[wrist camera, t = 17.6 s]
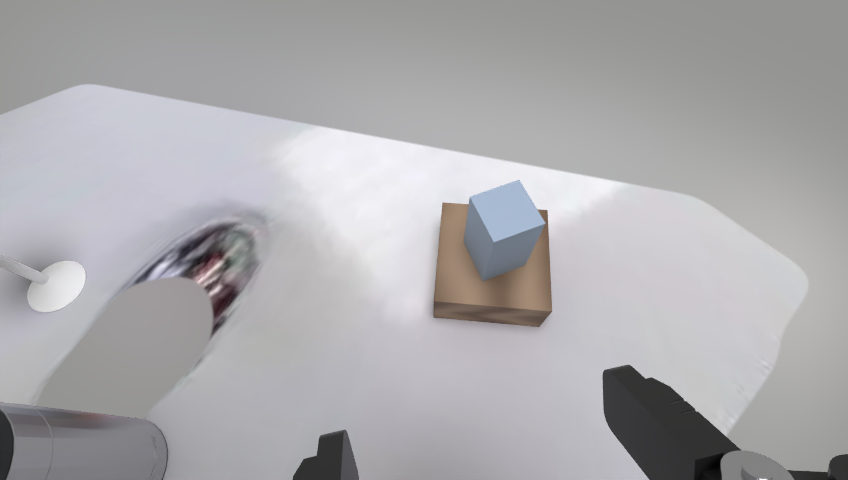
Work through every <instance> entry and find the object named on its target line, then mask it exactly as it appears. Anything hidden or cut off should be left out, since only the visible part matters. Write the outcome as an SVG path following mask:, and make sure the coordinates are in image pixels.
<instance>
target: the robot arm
mask: <svg viewBox="0 0 848 480" xmlns="http://www.w3.org/2000/svg"><path fill="white" fill-rule="evenodd" d="M603 403H604V414H605V418H606V421H607V423H608V426H609V427H610V429H611V431H612V432H613V434H614V435H615V436H616V437H617V439H618V440H619V441H620V443H621V444H622V445H623V446H624V448H625V449H626V450H627V451H628V453H629V454H630V455H631V457H632V458H633V459H634V460H635V462H636V463H637V464H638V466H639V467H640V468H641V469H642V471H643V472H644V473H645V475H646V476H647V477H648V478H649V480H848V454H845V455H839V456H836V457H834V458H832V460H831V461H830V464H829V468H828V472H811V471H810V472H809V471H791V470H786V469H785V468H784V467H783V466H781V465H780V464H779V463H777V462H776V461H774V460H772V459H770V458H768V457H766V456H764V455H761V454H758V453H754V452H750V451H742V450H740V449H739V448H738V447H737V446H736V445H735V444H734V443H732V442H731V441H730V440H729V439H728V438H727V437H726V436H725V435H724V434H722V433H721V432H720V431H719V430H718V429H717V428H716V427H715V426H713V425H712V424H711V423H710V422H709V421H708V420H707V419H706V418H704V417H703V416H702V415H701V414H700V413H699V412H696V411H695V409H694V408H693V407H692V406H691V405H690V404H689V403H688V402H686V401H684V399H683V398H682V397H681V396H680V395H679V394H678V393H676V392H675V391H674V390H673V389H672V388H671V387H670V386H668V385H666V384H664V383H662V382H660V381H658V380H656V379H654V378H647V379H645V378H644V377H643V376H642V375H641V374H640V373H638V372H637V371H636V370H635V369H634V368H633V367H632V366H630V365H624V366H620V367H616V368H611V369H607V370H604V372H603ZM166 462H167V447H166V443H165V439H164V437H163V435H162V433H161V431H160V430H159V429H158V428H157V427H156V426H155V425H154V424H152V423H150V422H148V421H146V420H142V419H137V418H129V417H120V416H114V415H106V414H98V413H88V412H81V411H72V410H64V409H55V408H47V407H38V406H30V405H21V404H13V403H12V404H11V403H3V402H0V480H162V477H163V475H164V472H165V468H166ZM293 480H359V476H358V470H357V466H356V463H355V459H354V455H353V452H352V448H351V444H350V441H349V437H348V434H347V431H346V430H342V431H337V432H333V433H329V434H325V435H321V436H320V438H319V444H318V451H317V456H314V457H310V458H306V459H304V460H303V461H302V463H301V465H300V466H299V468H298V469H297V471H296V473H295V474H294V476H293Z"/></svg>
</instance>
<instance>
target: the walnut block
mask: <svg viewBox="0 0 848 480" xmlns="http://www.w3.org/2000/svg"><path fill="white" fill-rule="evenodd" d="M468 207H469V205H468V204H454V203H443V204H442V215H441V226H440V237H439V248H438V260H437V271H436V282H435V293H434V317H435V318H446V319H457V320H469V321H480V322H491V323H502V324H514V325H525V326H536V327H539V326H540V325H541V324H542V323H543V322H544V320H545V319H546V318H547V317H548V316H549V314H550V313H551V312H552V300H551V278H550V257H549V236H548V214H547V210H538V212H539V213H540V215H541V217H542V218H543V220H544V222H545V223H546V224H545V226H544V228H543V230H542V232H541V234H540V236H539V238H538V240H537V242H536V244H535V246H534V248H533V250H532V252H531V254H530V257H529V259H528V261H527V263H526V265H524V266H522V267H519V268H516V269H514V270H511V271H509V272H506V273H503V274H501V275H498V276H495V277H493V278H490V279H487V280H485V281H482V279H481V277H480V275H479V273H478V271H477V269H476V267H475V265H474V262H473V260H472V258H471V256H470V254H469V252H468V250H467V248H466V246H465V244H464V235H465V228H466V221H467V214H468Z"/></svg>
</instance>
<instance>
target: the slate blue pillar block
mask: <svg viewBox="0 0 848 480" xmlns="http://www.w3.org/2000/svg"><path fill="white" fill-rule="evenodd" d="M545 224H546V223H545V222H544V220H543V218H542V217H541V215H540V213H539V212H538V210H537V208H536V207H535V205H534V203H533V202H532V200H531V198H530V197H529V195H528V194H527V192H526V190H525V189H524V187H523V185H522V184H521V182H520V180H517V181H515V182H512V183H509V184H506V185H503V186H500V187H497V188H494V189H491V190H488V191H486V192H483V193H480V194H477V195H474V196H471V197H470V200H469V207H468V214H467V221H466V228H465V235H464V244H465V246H466V248H467V250H468V252H469V254H470V256H471V258H472V260H473V262H474V265H475V267H476V269H477V271H478V273H479V275H480V277H481V279H482V281H485V280H487V279H490V278H493V277H495V276H498V275H501V274H503V273H506V272H509V271H511V270H514V269H516V268H519V267H522V266H524V265H526V263H527V261H528V259H529V257H530V254H531V252H532V250H533V248H534V246H535V244H536V242H537V240H538V238H539V236H540V234H541V232H542V230H543V228H544V226H545Z"/></svg>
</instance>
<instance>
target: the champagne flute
mask: <svg viewBox="0 0 848 480" xmlns="http://www.w3.org/2000/svg"><path fill="white" fill-rule="evenodd" d="M0 267H1V268H4V269H6V270H8V271H11V272H13V273H15V274H17V275H20V276H22V277H24V278H27V279H29V280H31V281H32V283H31V284H30V286H29V289H28V292H27V301H28V303H29V305H30V306H31V308H33V309H34V310H36V311H39V312H52V311H56V310H59V309H61V308H63V307H65V306H66V305H68V304H69V303H71V302H72V301H73V300H74V299H75V298H76V297H77V296H78V295H79V293H80V292H81V291H82V289H83V287H84V284H85V280H86V274H85V270H84V268H83V267H82V266H81V265H80V264H79V263H77V262H74V261H61V262H57V263H54V264H52V265H50V266H48V267H47V268H45V269H44V270H42V271H41V272H39V271H37V270H34V269H32V268H30V267H28V266H26V265H24V264H21V263H19V262H17V261H15V260H13V259H11V258H9V257H6V256H4V255H2V254H0Z"/></svg>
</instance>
